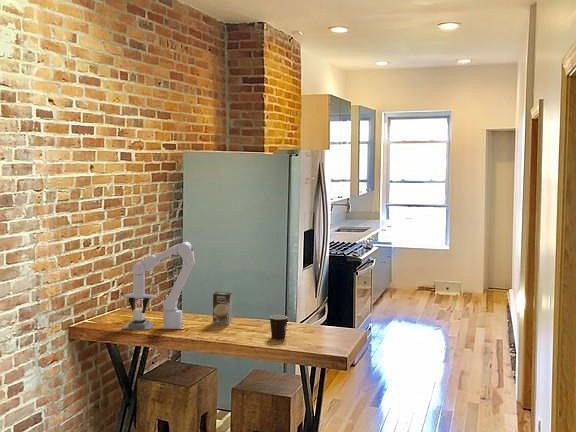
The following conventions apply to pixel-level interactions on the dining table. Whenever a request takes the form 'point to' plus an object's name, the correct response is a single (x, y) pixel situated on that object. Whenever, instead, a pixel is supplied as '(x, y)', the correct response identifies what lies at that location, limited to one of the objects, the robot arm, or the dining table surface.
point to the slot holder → (139, 325)
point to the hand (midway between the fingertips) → (138, 312)
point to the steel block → (138, 314)
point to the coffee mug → (278, 326)
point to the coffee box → (222, 308)
